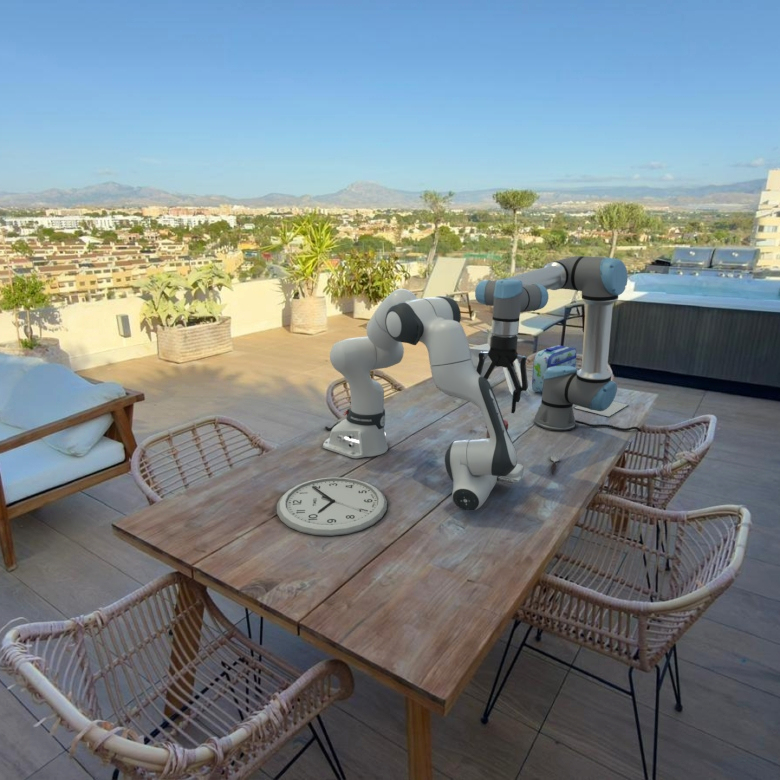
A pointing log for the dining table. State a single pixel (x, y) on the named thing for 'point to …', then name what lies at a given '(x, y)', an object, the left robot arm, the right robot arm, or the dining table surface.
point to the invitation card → (609, 411)
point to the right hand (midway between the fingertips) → (498, 409)
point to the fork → (554, 461)
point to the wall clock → (331, 506)
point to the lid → (505, 424)
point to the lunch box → (551, 363)
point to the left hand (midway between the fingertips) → (493, 457)
